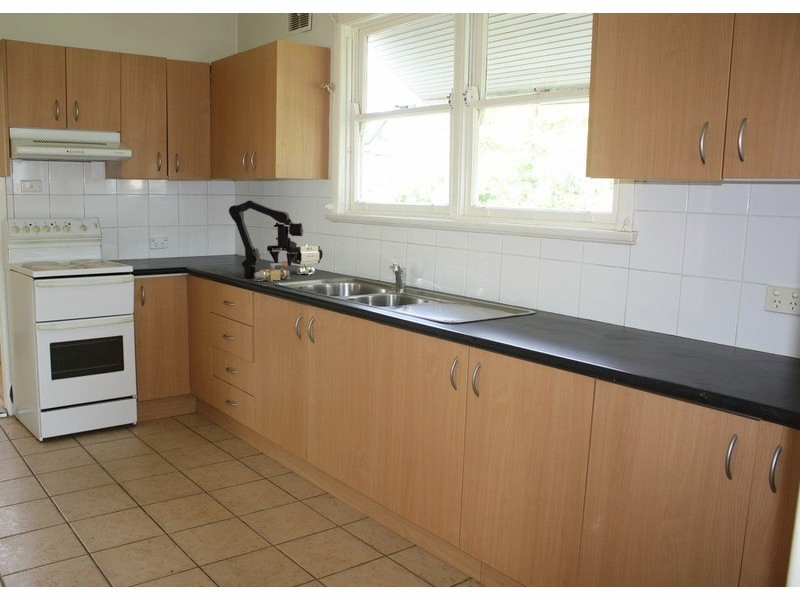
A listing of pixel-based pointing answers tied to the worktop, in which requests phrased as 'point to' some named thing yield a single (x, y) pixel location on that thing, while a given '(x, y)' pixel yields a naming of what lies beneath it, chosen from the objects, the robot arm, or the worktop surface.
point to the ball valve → (307, 258)
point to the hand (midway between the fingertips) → (283, 265)
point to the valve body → (271, 274)
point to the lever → (272, 265)
